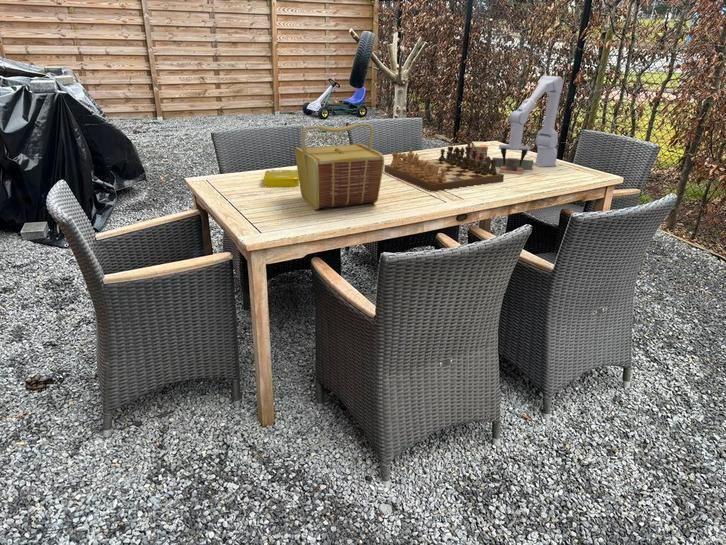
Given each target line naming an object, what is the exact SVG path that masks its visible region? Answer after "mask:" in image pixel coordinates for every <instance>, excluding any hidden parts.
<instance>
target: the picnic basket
mask: <svg viewBox="0 0 726 545" xmlns="http://www.w3.org/2000/svg"><path fill="white" fill-rule="evenodd" d="M357 127H368V128H369V130H370V131H369V140H368V142H369V143H368V146H367V145H365V144H362V143H356V144H344V145H342V144H340V145H329V146H328V145H327V146H326V145H325V146H315V147H312V146H311V147H307V146H306V137H305V136H306V135H305V134H306V132H307V131H308V130H315V129H316V130H321V131H324V132H330V133H341V132H347V131H350V130H351V131H352V130H354V129H355V128H357ZM300 137H301V145H302V147H296V148H295V149H294V156H295V162H296V170H297V171H298V177H299V188H300V189H299V190H300V194H301V198H302V199H303V201H304V202H306V204H308V206H310V207H311V208H312V209H313V210H314V209H315V211H318V210H320V209H329V208H338V207H345V206H346V207H347V206H354V205H363V204H376V203H377V202H378V200H379V197H380V196H379V195H380V191H381V190H380V189H381V184H382V178H383V172H384V167H385V165H384V164H385V157H384V154H383V153H382V152H380V151H378V150H376V149H374V148H373V141H374V140H373V139H374V127H373V125H372V124H370V123H366V122H363V123H354V124H350V125H348V126H343V127H329V126H322V125H310V126H309V125H308V126H305V127H304V128H303V129H302V130H301V133H300Z"/></svg>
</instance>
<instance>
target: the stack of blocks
mask: <svg viewBox="0 0 726 545" xmlns="http://www.w3.org/2000/svg"><path fill="white" fill-rule="evenodd" d="M470 144H471V145H470V147H472V149H471V154H470V159H471V158H472V156H471V155H472V153H473V152H472V150H473V149H474V147H476V150H478V151H477V152H476V154H477V156H476V158H475V160H476V162H477V161H478V160H479V155H480V154H481V153H483V155H484V158H483V160H485V159H486V157H487V156H488V151H489V150H488V148H489V146H488V145H487V143H486V142H484V141H471V143H470ZM483 163H484V161H482V164H483ZM476 164H477V163H476ZM477 165H478V164H477Z"/></svg>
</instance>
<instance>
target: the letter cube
mask: <svg viewBox="0 0 726 545" xmlns="http://www.w3.org/2000/svg"><path fill="white" fill-rule="evenodd" d="M507 158H508V159H507V167H506V170H511V171H517V164H518V159H519V158H515V157H514V158H513V157H507Z"/></svg>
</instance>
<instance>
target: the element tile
mask: <svg viewBox="0 0 726 545" xmlns="http://www.w3.org/2000/svg"><path fill="white" fill-rule="evenodd" d="M263 182H264V183H263V184H264V187H265V186H267V187H266V188H296V186H297V187H300V184H299V177H298V170H297V169H280V170H279V169H278V170H277V169H267V170H265V171H264V176H263Z"/></svg>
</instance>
